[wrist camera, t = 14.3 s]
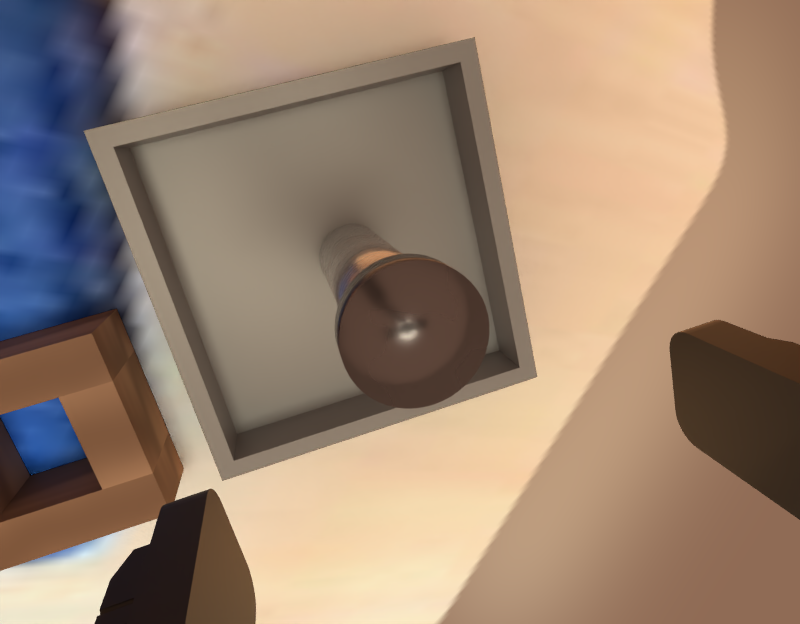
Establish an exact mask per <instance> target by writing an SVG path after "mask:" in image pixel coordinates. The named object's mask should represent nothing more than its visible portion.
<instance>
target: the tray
mask: <svg viewBox="0 0 800 624" xmlns="http://www.w3.org/2000/svg"><path fill="white" fill-rule="evenodd" d="M84 133H85V135H86V138H87V140H88V143H89V145H90V148H91V150H92V153H93V155H94V158H95V160H96V163H97V165H98V168H99V171H100V173H101V176H102V178H103V181H104V183H105V186H106V188H107V191H108V193H109V196H110V198H111V201H112V203H113V206H114V208H115V211H116V213H117V216H118V218H119V221H120V223H121V226H122V229H123V231H124V234H125V236H126V239H127V241H128V244H129V246H130V249H131V251H132V254H133V256H134V259H135V261H136V264H137V266H138V269H139V271H140V274H141V276H142V279H143V282H144V284H145V287H146V289H147V292H148V294H149V297H150V299H151V302H152V304H153V307H154V309H155V312H156V314H157V317H158V319H159V322H160V324H161V327H162V329H163V332H164V334H165V337H166V340H167V342H168V345H169V347H170V350H171V352H172V355H173V357H174V360H175V362H176V365H177V367H178V370H179V372H180V375H181V377H182V380H183V382H184V385H185V387H186V390H187V392H188V395H189V398H190V400H191V403H192V405H193V408H194V410H195V413H196V415H197V418H198V420H199V423H200V425H201V428H202V430H203V433H204V435H205V438H206V440H207V443H208V445H209V448H210V450H211V453H212V456H213V458H214V461H215V463H216V466H217V468H218V471H219V473H220V476H221V478H222V481H224V480H227V479H230V478H233V477H236V476H239V475H242V474H245V473H248V472H251V471H254V470H257V469H260V468H263V467H266V466H269V465H272V464H275V463H278V462H281V461H284V460H287V459H290V458H293V457H296V456H299V455H302V454H305V453H308V452H311V451H314V450H317V449H320V448H324V447H327V446H330V445H333V444H336V443H339V442H342V441H345V440H348V439H351V438H354V437H357V436H360V435H363V434H366V433H369V432H372V431H375V430H378V429H381V428H384V427H387V426H390V425H393V424H396V423H399V422H402V421H405V420H408V419H411V418H414V417H417V416H420V415H424V414H427V413H430V412H433V411H436V410H439V409H442V408H445V407H448V406H451V405H454V404H457V403H460V402H463V401H466V400H469V399H472V398H475V397H478V396H481V395H484V394H487V393H490V392H493V391H496V390H499V389H502V388H505V387H508V386H511V385H514V384H517V383H520V382H524V381H527V380H530V379H533V378H536V377H537V373H536V368H535V362H534V357H533V351H532V346H531V341H530V335H529V330H528V324H527V319H526V313H525V308H524V303H523V297H522V292H521V286H520V281H519V276H518V270H517V265H516V259H515V254H514V248H513V243H512V238H511V232H510V227H509V221H508V216H507V211H506V205H505V200H504V194H503V189H502V183H501V178H500V173H499V167H498V162H497V156H496V151H495V146H494V140H493V135H492V129H491V124H490V118H489V113H488V108H487V102H486V97H485V91H484V86H483V81H482V75H481V70H480V64H479V59H478V53H477V48H476V43H475V37H474V38H470V39H465V40H461V41H457V42H453V43H449V44H445V45H440V46H436V47H432V48H428V49H424V50H420V51H415V52H411V53H407V54H403V55H399V56H394V57H390V58H386V59H382V60H378V61H374V62H369V63H365V64H361V65H357V66H353V67H349V68H344V69H340V70H336V71H332V72H328V73H323V74H319V75H315V76H311V77H307V78H303V79H298V80H294V81H290V82H286V83H282V84H278V85H273V86H269V87H265V88H261V89H257V90H252V91H248V92H244V93H240V94H236V95H232V96H227V97H223V98H219V99H215V100H211V101H207V102H202V103H198V104H194V105H190V106H186V107H181V108H177V109H173V110H169V111H165V112H161V113H156V114H152V115H148V116H144V117H140V118H136V119H131V120H127V121H123V122H119V123H115V124H110V125H106V126H102V127H98V128H94V129H90V130H85V131H84ZM347 224H357V225H362V226H365V227H367V228H369V229H370V230H372V231H373V232H374V233H376V234H377V235H378V236H380V237H381V238H383V239H384V240H385V241H387V242H388V243H389V244H391V245H392V246H393V247H395V248H396V249H397V250H399V251H400V252H401V253H403V254H407V253H411V254H421V255H426V256H430V257H433V258H436V259H438V260H440V261H442V262H444V263H445V264H447V265H448V266H450V267H452V268H453V269H455V270H457V271H458V272H459V273H461V274H462V275H464V276H465V277H466V278H467V279H468V280H469V281H470V282H471V283H472V284H473V285H474V286H475V287H476V289H477V290H478V292H479V293H480V295H481V297H482V299H483V301H484V303H485V306H486V309H487V313H488V317H489V342H488V346H487V350H486V353H485V356H484V359H483V361H482V363H481V365H480V367H479V369H478V370H477V372H476V373H475V374H474V376H473V377H472V378H471V380H470V381H469V382H468V383H467V384H466V385H465V386H464V387H463V388H462V389H461V390H459V391H458V392H457V393H455V394H454V395H452V396H451V397H449V398H447V399H445V400H444V401H442V402H439V403H436V404H434V405H430V406H427V407H422V408H413V409H404V408H396V407H391V406H387V405H385V404H382V403H379V402H377V401H375V400H374V399H372V398H370V397H369V396H367V395H366V394H365V393H363V392H362V391H361V390H360V389H359V388H358V387H357V386H356V385H355V384H354V382H353V381H352V380H351V378H350V377H349V375H348V373H347V371H346V369H345V367H344V364H343V361H342V359H341V356H340V353H339V350H338V347H337V343H336V338H335V316H336V311H337V307H338V305H337V303H336V300H335V298H334V296H333V294H332V291H331V289H330V287H329V284H328V282H327V280H326V278H325V275H324V273H323V271H322V268H321V265H320V259H319V255H320V249H321V245H322V243H323V241H324V240H325V238H326V237H327V235H328V234H329V233H330V232H332V231H333V230H334V229H336V228H338V227H340V226H343V225H347Z"/></svg>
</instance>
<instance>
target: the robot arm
mask: <svg viewBox="0 0 800 624" xmlns="http://www.w3.org/2000/svg"><path fill="white" fill-rule="evenodd" d="M670 358H671V368H672V378H673V389H674V399H675V410H676V416H677V420H678V422H679V425H680V427H681V429H682V431H683V432H684V434H685V435H686V437H687V438H688V439H689V441H690V442H691V443H692V444H693V445H694V446H696V447H697V448H698V449H700V450H701V451H703V452H704V453H705V454H707V455H708V456H710V457H711V458H712V459H714V460H715V461H717V462H718V463H720V464H721V465H723V466H724V467H725V468H727V469H728V470H730V471H731V472H732V473H734V474H735V475H737V476H738V477H740V478H741V479H742V480H744V481H745V482H747V483H748V484H750V485H751V486H752V487H754V488H755V489H757V490H758V491H760V492H761V493H762V494H764V495H765V496H767V497H768V498H770V499H771V500H773V501H774V502H775V503H777V504H778V505H780V506H781V507H782V508H784V509H785V510H787V511H788V512H790V513H791V514H792V515H794V516H795V517H797V518H798V519H799V520H800V345H798V344H796V343H793V342H788V341H782V340H777V339H771V338H766V337H764V336H761V335H758V334H756V333H753V332H751V331H748V330H745V329H743V328H740V327H738V326H735V325H733V324H730V323H727V322H725V321H721V320H714V321H710V322H707V323H705V324H702V325H699V326H696V327H693V328H690V329H687V330H684V331H681V332H678V333H676V334H674V335H673V337H672V338H671V342H670ZM255 621H256V601H255V593H254V587H253V582H252V578H251V574H250V571H249V568H248V565H247V563H246V560H245V558H244V555H243V553H242V551H241V548H240V546H239V543H238V541H237V539H236V536H235V534H234V531H233V529H232V527H231V524H230V522H229V519H228V517H227V515H226V512H225V510H224V508H223V505H222V503H221V501H220V498H219V497H218V495H217V493H216V492H215V491H214V490H213V489H209V490H206V491H203V492H200V493H197V494H194V495H191V496H188V497H185V498H182V499H179V500H176V501H173V502H170V503H167V504H164V505H163V506H162V507H161V509H160V512H159V516H158V519H157V522H156V526H155V529H154V533H153V536H152V539H151V543H150V544H149V545H146V546H143V547H140V548H137V549H134V550H133V551H132V553H131V554H130V555H129V557H128V558H127V559H126V560H125V562H124V563H123V564H122V566H121V567H120V568H119V569H118V571H117V572H116V573H115V575H114V576H113V577H112V578H111V580H110V582H109V585H108V588H107V591H106V594H105V596H104V599H103V602H102V605H101V607H100V615H99V616H97V618H96V621H95V624H255Z"/></svg>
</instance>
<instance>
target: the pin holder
mask: <svg viewBox="0 0 800 624" xmlns="http://www.w3.org/2000/svg"><path fill="white" fill-rule="evenodd" d="M58 397H59V399H60V401H61V403H62V406H63V408H64V410H65V412H66V414H67V416H68V418H69V420H70V422H71V425H72V427H73V429H74V431H75V433H76V435H77V437H78V439H79V441H80V443H81V446H82V448H83V450H84V452H85V454H86V456H87V458H85V459H82V460H79V461H76V462H72V463H69V464H66V465H63V466H60V467H56V468H53V469H50V470H47V471H44V472H41V473H37V474H34V475H31V476H30V475H29V473H28V471H27V469H26V467H25V465H24V463H23V461H22V459H21V457H20V455H19V453H18V451H17V450H16V448H15V446H14V444H13V442H12V440H11V438H10V436H9V434H8V432H7V430H6V428H5V426H4V424H3V422H2V421H1V419H0V571H1V570H4V569H7V568H10V567H13V566H16V565H19V564H22V563H25V562H28V561H31V560H34V559H37V558H40V557H43V556H46V555H49V554H52V553H55V552H58V551H61V550H64V549H67V548H70V547H73V546H76V545H79V544H82V543H85V542H88V541H91V540H94V539H97V538H100V537H103V536H106V535H109V534H112V533H115V532H118V531H121V530H124V529H127V528H130V527H133V526H136V525H139V524H142V523H145V522H148V521H151V520H154V519H157V518H158V516H159V512H160V509H161V507H162V506H163V505H164V504H167V503H170V502H173V501H175V497H176V494H177V490H178V487H179V483H180V480H181V476H182V473H183V469H184V468H183V466H182V464H181V461H180V459H179V456H178V454H177V452H176V449H175V447H174V444H173V442H172V440H171V437H170V435H169V432H168V430H167V428H166V425H165V423H164V420H163V418H162V416H161V413H160V411H159V409H158V406H157V404H156V401H155V399H154V397H153V394H152V392H151V389H150V387H149V385H148V382H147V380H146V377H145V375H144V373H143V370H142V368H141V365H140V363H139V361H138V358H137V356H136V353H135V351H134V349H133V346H132V344H131V342H130V339H129V337H128V334H127V332H126V330H125V327H124V325H123V322H122V320H121V318H120V315H119V313H118V310H117V309H114V310H110V311H107V312H103V313H100V314H96V315H93V316H89V317H85V318H82V319H78V320H75V321H71V322H68V323H64V324H61V325H57V326H54V327H50V328H46V329H43V330H39V331H36V332H32V333H29V334H25V335H22V336H18V337H15V338H11V339H7V340H4V341H0V415H1V414H4V413H8V412H11V411H15V410H18V409H21V408H25V407H28V406H31V405H35V404H38V403H41V402H45V401H48V400H51V399H55V398H58Z"/></svg>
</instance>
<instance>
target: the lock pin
mask: <svg viewBox="0 0 800 624" xmlns="http://www.w3.org/2000/svg"><path fill="white" fill-rule="evenodd" d="M319 259H320V265H321V268H322V271H323V273H324V275H325V278H326V280H327V282H328V284H329V287H330V289H331V291H332V294H333V296H334V298H335V300H336V303H337V305H338V307H337V311H336V316H335V338H336V343H337V347H338V350H339V353H340V356H341V359H342V361H343V364H344V367H345V369H346V371H347V373H348V375H349V377H350V378H351V380H352V381H353V382H354V384H355V385H356V386H357V387H358V388H359V389H360V390H361V391H362V392H363V393H365V394H366V395H367V396H369V397H370V398H372V399H374V400H375V401H377V402H379V403H382V404H385V405H387V406H391V407H396V408H404V409H413V408H422V407H427V406H430V405H434V404H436V403H439V402H442V401H444V400H445V399H447V398H449V397H451V396H452V395H454V394H455V393H457V392H458V391H459V390H461V389H462V388H463V387H464V386H465V385H466V384H467V383H468V382H469V381H470V380H471V378H472V377H473V376H474V374H475V373H476V372H477V370H478V369H479V367H480V365H481V363H482V361H483V359H484V356H485V353H486V350H487V346H488V342H489V317H488V313H487V309H486V306H485V303H484V301H483V299H482V297H481V295H480V293H479V292H478V290H477V289H476V287H475V286H474V285H473V284H472V283H471V282H470V281H469V280H468V279H467V278H466V277H465V276H464V275H462V274H461V273H459V272H458V271H457V270H455V269H453V268H452V267H450V266H448V265H447V264H445V263H444V262H442V261H440V260H438V259H436V258H433V257H430V256H426V255H421V254H411V253H407V254H403V253H401V252H400V251H399V250H397V249H396V248H395V247H393V246H392V245H391V244H389V243H388V242H387V241H385V240H384V239H383V238H381V237H380V236H378V235H377V234H376V233H374V232H373V231H372V230H370V229H369V228H367V227H365V226H362V225H357V224H347V225H343V226H340V227H338V228H336V229H334V230H333V231H332V232H330V233H329V234H328V235H327V237H326V238H325V240H324V241H323V243H322V245H321V249H320V255H319Z"/></svg>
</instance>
